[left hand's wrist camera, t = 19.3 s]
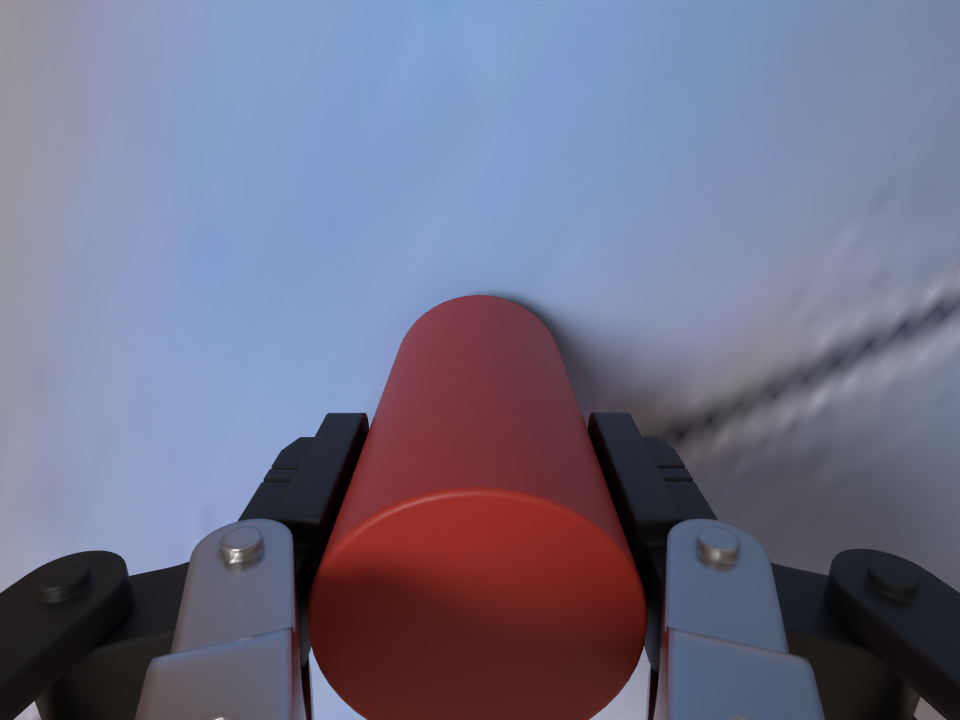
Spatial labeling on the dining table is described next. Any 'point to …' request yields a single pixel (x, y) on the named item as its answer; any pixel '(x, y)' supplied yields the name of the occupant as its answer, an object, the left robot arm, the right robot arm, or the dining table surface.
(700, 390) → the dining table surface
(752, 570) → the left robot arm
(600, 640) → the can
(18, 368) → the dining table surface
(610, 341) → the dining table surface
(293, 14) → the dining table surface
